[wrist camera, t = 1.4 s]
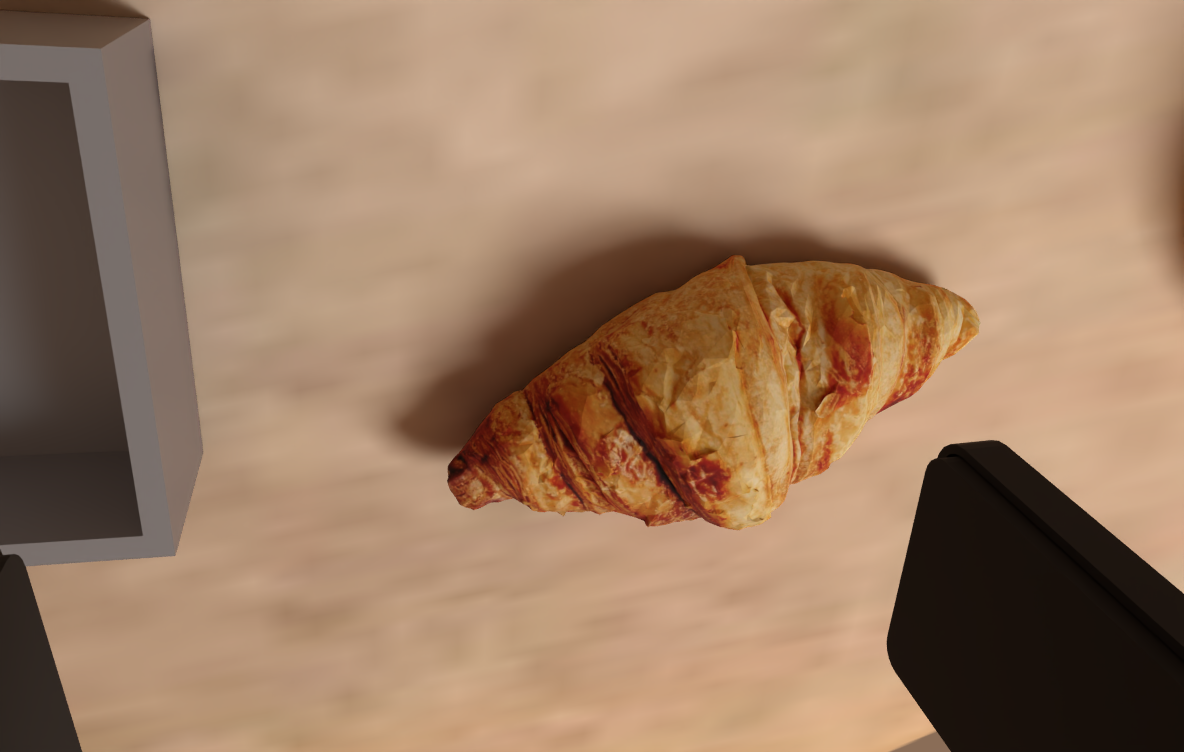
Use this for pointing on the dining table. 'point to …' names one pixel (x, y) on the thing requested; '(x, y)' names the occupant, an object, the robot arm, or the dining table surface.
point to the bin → (89, 298)
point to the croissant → (714, 394)
